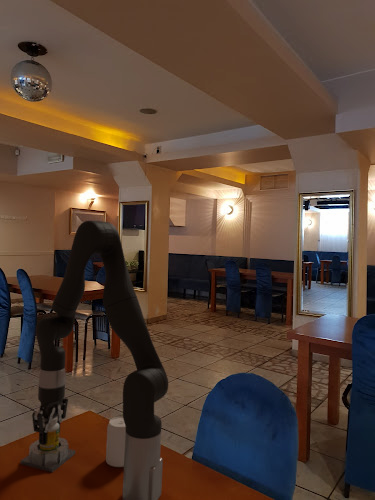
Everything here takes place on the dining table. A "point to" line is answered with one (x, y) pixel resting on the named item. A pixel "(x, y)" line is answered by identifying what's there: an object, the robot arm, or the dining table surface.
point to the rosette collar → (48, 456)
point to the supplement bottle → (51, 436)
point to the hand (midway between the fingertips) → (49, 439)
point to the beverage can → (116, 442)
